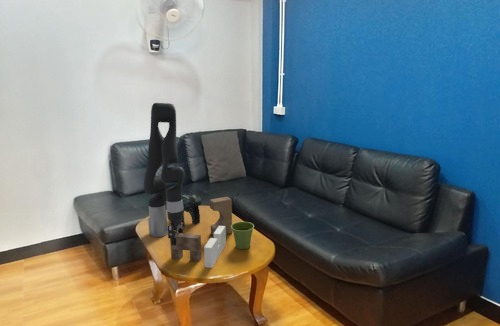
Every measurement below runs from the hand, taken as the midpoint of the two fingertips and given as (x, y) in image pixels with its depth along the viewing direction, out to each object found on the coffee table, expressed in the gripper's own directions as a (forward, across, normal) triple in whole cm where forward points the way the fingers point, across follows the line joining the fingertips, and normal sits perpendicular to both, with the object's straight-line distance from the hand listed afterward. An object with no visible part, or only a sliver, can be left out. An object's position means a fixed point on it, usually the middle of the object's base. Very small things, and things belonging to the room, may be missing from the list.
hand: (177, 240), depth 164 cm
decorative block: (+9, -30, +13) cm, 34 cm away
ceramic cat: (+8, -44, -12) cm, 46 cm away
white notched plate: (+9, -6, +17) cm, 20 cm away
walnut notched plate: (+9, 0, +4) cm, 10 cm away
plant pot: (+9, -17, +28) cm, 34 cm away
